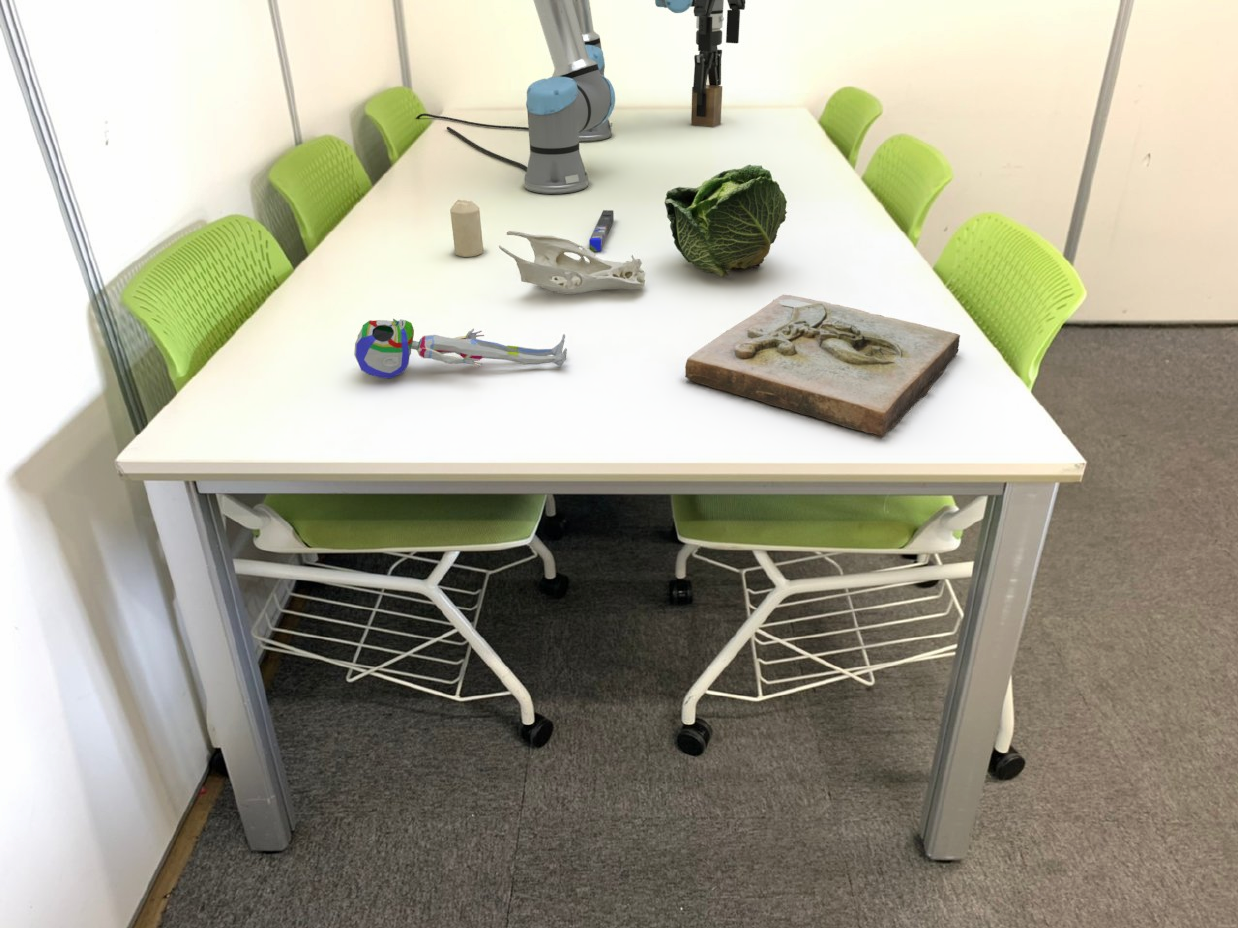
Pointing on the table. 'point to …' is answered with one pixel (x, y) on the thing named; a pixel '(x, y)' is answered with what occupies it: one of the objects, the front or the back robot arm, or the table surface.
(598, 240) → the blue capped marker
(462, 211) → the candle
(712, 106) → the block
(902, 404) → the plaque
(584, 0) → the back robot arm
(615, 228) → the table surface
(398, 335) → the toy
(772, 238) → the vegetable
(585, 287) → the anatomical model
